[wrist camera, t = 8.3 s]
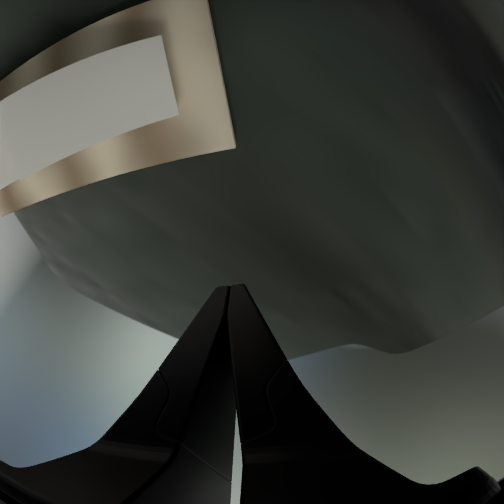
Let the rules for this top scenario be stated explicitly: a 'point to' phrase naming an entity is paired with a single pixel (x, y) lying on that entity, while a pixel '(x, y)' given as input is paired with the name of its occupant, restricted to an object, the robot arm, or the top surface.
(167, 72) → the domino
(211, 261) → the top surface
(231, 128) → the beige flat rectangular board
